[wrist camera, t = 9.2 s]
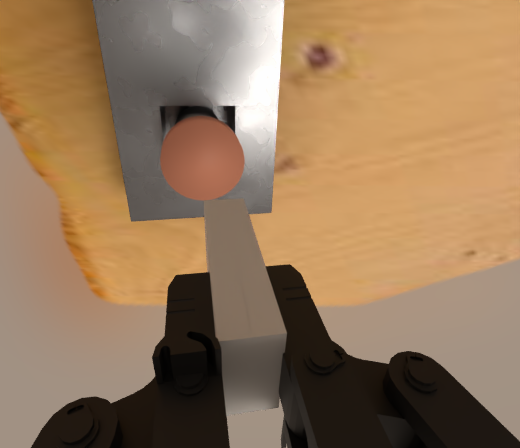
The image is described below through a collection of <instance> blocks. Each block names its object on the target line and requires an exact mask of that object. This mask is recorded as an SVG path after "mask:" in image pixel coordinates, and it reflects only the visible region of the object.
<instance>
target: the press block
mask: <svg viewBox="0 0 520 448" xmlns="http://www.w3.org/2000/svg"><path fill="white" fill-rule="evenodd" d="M92 1H93V7H94V13H95V18H96V24H97V30H98V35H99V41H100V47H101V52H102V58H103V64H104V70H105V75H106V81H107V87H108V92H109V98H110V104H111V109H112V115H113V121H114V126H115V132H116V138H117V143H118V149H119V155H120V161H121V166H122V172H123V178H124V183H125V189H126V195H127V200H128V206H129V212H130V217H131V221H147V220H163V219H179V218H195V217H204V200H194V199H190V198H187V197H185V196H183V195H181V194H179V193H178V192H176V191H175V190H174V189H173V188H172V187H171V186H170V185H169V184H168V182H167V181H166V179H165V177H164V175H163V173H162V170H161V165H160V156H161V149H162V144H163V141H164V139H165V136H166V135H167V133H168V132H169V130H170V129H171V128H172V127H173V126H174V125H175V122H176V119H177V117H178V115H179V114H180V113H181V112H182V111H183V110H185V109H187V108H189V107H192V106H201V107H205V108H207V109H209V110H211V111H212V112H213V113H214V114H215V115H216V116H217V118H218V120H220V121H222V122H223V123H225V124H226V125H228V126H229V127H230V128H231V129H232V130H233V132H234V133H235V134H236V136H237V138H238V140H239V142H240V144H241V146H242V149H243V152H244V159H245V163H244V170H243V173H242V176H241V178H240V180H239V182H238V183H237V184H236V186H235V187H234V188H233V189H232V190H231V191H229V192H228V193H227V194H225V195H223V196H221V197H219V198H216V199H212V200H223V199H244V201H245V204H246V207H247V211H248V214H259V213H271V211H272V194H273V178H274V162H275V145H276V129H277V112H278V96H279V80H280V63H281V47H282V30H283V14H284V0H92Z"/></svg>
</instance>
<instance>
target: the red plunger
mask: <svg viewBox="0 0 520 448" xmlns="http://www.w3.org/2000/svg"><path fill="white" fill-rule="evenodd" d="M244 163H245V159H244V152H243V149H242V146H241V144H240V142H239V140H238V138H237V136H236V134H235V133H234V132H233V130H232V129H231V128H230V127H229V126H228V125H226V124H225V123H223V122H222V121H220V120H218V118H217V116H216V115H215V114H214V113H213V112H212V111H211V110H209V109H207V108H205V107H201V106H192V107H189V108H187V109H185V110H183V111H182V112H181V113H180V114H179V115H178V117H177V119H176V122H175V125H174V126H173V127H172V128H171V129H170V130H169V132H168V133H167V135H166V136H165V139H164V141H163V144H162V149H161V156H160V165H161V170H162V173H163V175H164V177H165V179H166V181H167V182H168V184H169V185H170V186H171V187H172V188H173V189H174V190H175V191H176V192H178V193H179V194H181V195H183V196H185V197H187V198H190V199H194V200H212V199H216V198H219V197H221V196H223V195H225V194H227V193H228V192H229V191H231V190H232V189H233V188H234V187H235V186H236V184H237V183H238V182H239V180H240V178H241V176H242V173H243V170H244Z"/></svg>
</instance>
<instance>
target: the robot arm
mask: <svg viewBox="0 0 520 448" xmlns="http://www.w3.org/2000/svg"><path fill="white" fill-rule="evenodd" d="M204 217H205V237H206V257H207V270H208V272H206V273H195V274H183V275H176V276H175V277H174V279H173V281H172V282H171V284H170V285H169V287H168V296H167V311H166V312H167V315H166V325H165V337H164V338H163V339H162V340H161V341H160V342H159V343H158V345H157V346H156V347H155V351H154V354H153V356H152V359H153V364H154V370H155V377H154V379H153V380H152V381H151V382H150V383H149V384H148V385H146V386H145V387H144V388H143V389H141V390H139V391H137V392H135V393H134V394H131V395H129V396H127V397H125V398H122V399H120V400H118V401H116V402H113V403H110V402H109V401H108V400H106V399H102V398H99V397H87V398H81V399H78V400H76V401H74V402H71V403H69V404H67V405H66V406H64V407H63V408H62V409H60V410H59V411H58V412H56V413H55V414H54V415H53V416H52V417H51V418H50V419H49V421H48V422H47V423H46V425H45V426H44V427H43V428H42V430H41V432H40V433H39V435H38V437H37V438H36V440H35V442H34V444H33V445H32V447H31V448H230V446H229V436H228V426H227V417H226V416H228V415H235V414H241V413H247V412H253V411H259V410H266V409H272V408H278V407H279V399H281V403H282V407H283V411H284V420H283V428H282V435H281V446H282V447H281V448H286V443H287V447H288V448H520V442H519V440H518V439H517V438H516V437H514V436H513V435H512V434H511V433H510V432H509V431H508V430H507V429H506V428H505V427H504V426H503V425H502V424H501V423H500V422H499V421H498V420H497V419H496V418H495V417H494V416H493V415H492V414H491V413H490V412H489V411H488V410H487V409H485V407H484V406H483V405H481V404H480V403H479V402H478V401H477V400H476V399H475V398H474V397H473V396H472V395H471V394H470V393H469V392H468V391H467V390H466V389H465V388H464V387H463V386H462V385H461V384H460V383H459V382H458V381H457V380H456V379H455V378H454V377H453V376H452V375H451V374H450V373H449V372H448V371H446V370H445V369H444V368H443V367H442V366H441V365H440V364H438V363H437V362H436V361H435V360H433V359H432V358H430V357H428V356H425V355H423V354H421V353H417V352H411V351H406V352H401V353H397V354H396V355H395V356H394V357H392V358H391V360H390V363H389V364H386V363H379V362H373V361H367V360H362V359H358V358H354V357H352V356H350V355H348V354H347V353H346V352H345V350H344V349H343V348H342V347H340V346H339V345H338V344H336V343H335V342H333V341H332V340H331V339H330V337H329V335H328V333H327V330H326V328H325V326H324V324H323V322H322V319H321V317H320V315H319V313H318V311H317V308H316V306H315V304H314V302H313V300H312V299H311V295H310V293H309V291H308V288H306V284H305V282H304V280H303V277H302V275H301V274H300V273H299V272H298V271H297V270H296V269H295V268H294V267H292V266H291V265H290V264H289V265H277V266H265V263H264V260H263V257H262V254H261V251H260V248H259V245H258V242H257V239H256V235H255V232H254V229H253V226H252V223H251V220H250V217H249V214H248V211H247V207H246V204H245V201H244V199H223V200H204Z"/></svg>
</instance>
